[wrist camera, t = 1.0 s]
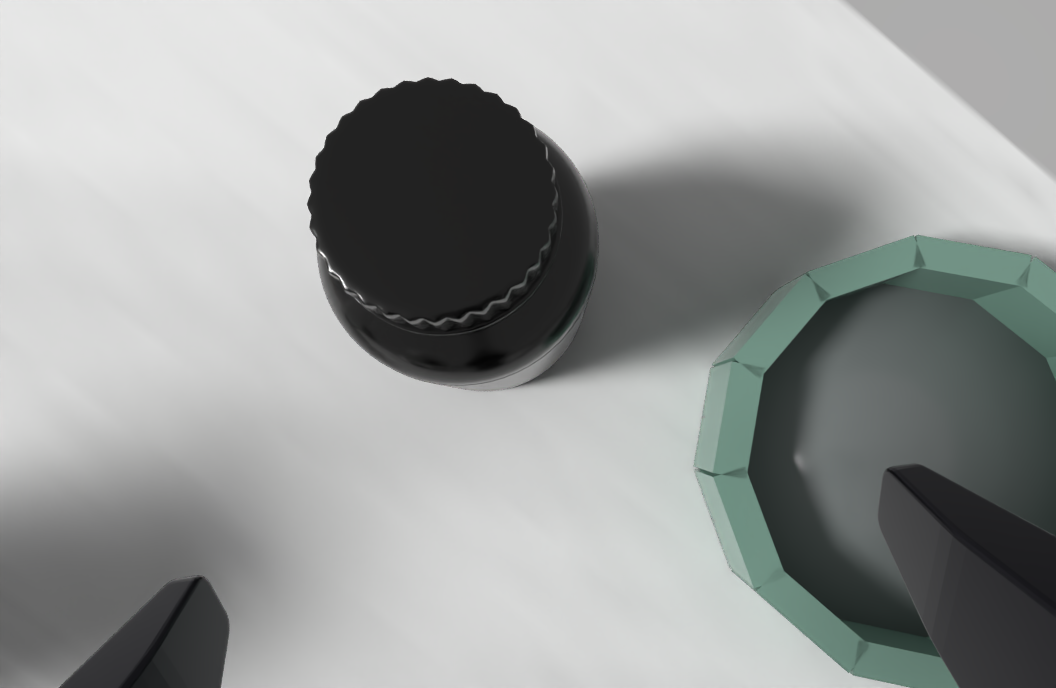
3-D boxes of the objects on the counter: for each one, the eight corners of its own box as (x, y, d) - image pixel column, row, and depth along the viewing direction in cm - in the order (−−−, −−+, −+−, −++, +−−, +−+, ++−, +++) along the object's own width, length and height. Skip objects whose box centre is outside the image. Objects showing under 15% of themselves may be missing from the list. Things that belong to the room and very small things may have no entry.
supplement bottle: (353, 296, 25) (174, 189, 14) (490, 165, 26) (434, -54, 14) (486, 436, 25) (422, 452, 13) (626, 299, 25) (690, 190, 13)
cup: (931, 745, 23) (987, 794, 20) (619, 473, 24) (628, 480, 21) (1179, 436, 24) (1269, 439, 21) (864, 187, 25) (905, 155, 22)
